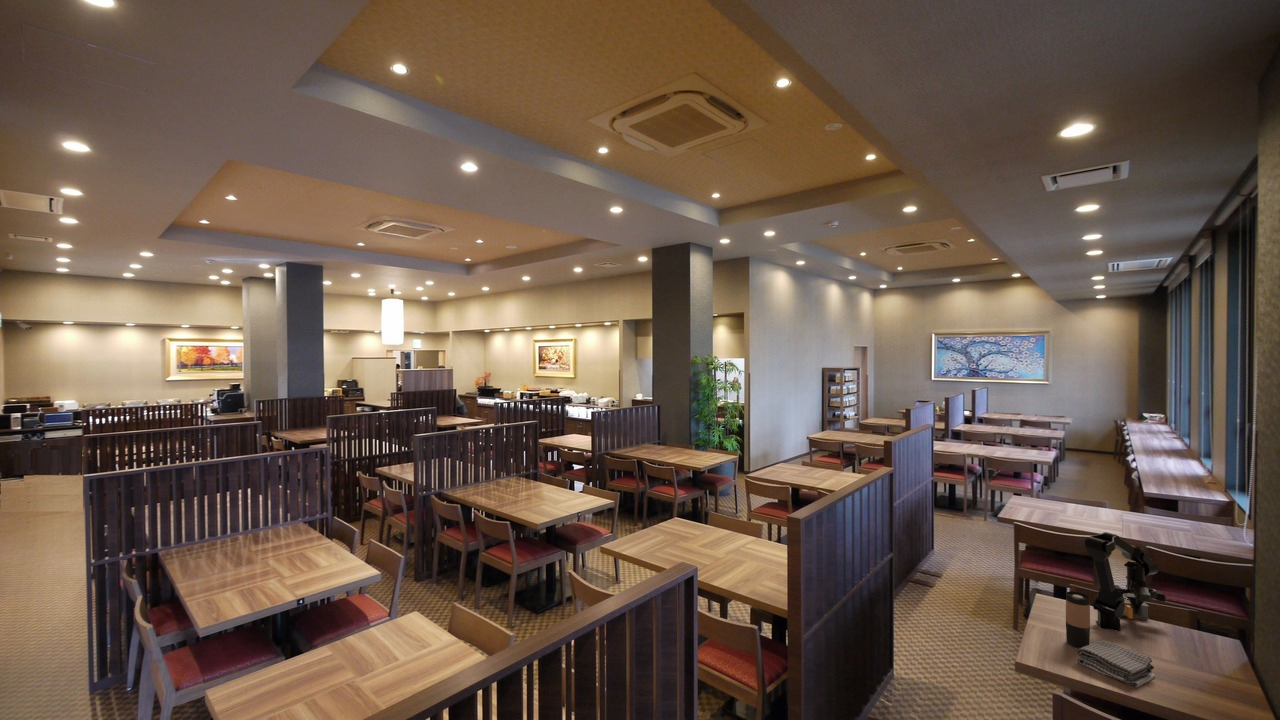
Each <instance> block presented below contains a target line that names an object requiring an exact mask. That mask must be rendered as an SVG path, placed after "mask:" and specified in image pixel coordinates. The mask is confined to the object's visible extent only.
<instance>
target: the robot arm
mask: <svg viewBox="0 0 1280 720" xmlns="http://www.w3.org/2000/svg"><path fill="white" fill-rule="evenodd" d="M1083 544H1084V548H1085V550H1086V552H1087V554H1088V555H1089V556H1090V557H1091V558H1092V560H1093V562H1094V567H1095V571H1096V575H1097V579H1098V583H1099V591H1098V592H1097V595H1096V596H1097V597H1096V598H1095V600H1094V601H1093V604H1092V608H1093V609H1094V610H1097V620H1096V621H1095V623H1096V624H1097V625H1098V626H1099V628H1100V629H1101V630H1102V629H1103V630H1108V629H1109V630H1110V629H1111V630H1110V631H1115V630H1117V631H1116V632H1121V619H1120V617H1124V616H1123V613H1124V608H1125V603H1124V601H1125V600H1124V598H1123V595H1125V596H1126V597H1127V598H1128V599H1129V601H1130V603H1131V606H1132V608H1133V610H1134V612H1135V613H1138V611H1139V609H1140V607H1141V605H1142V604H1143V603H1144V602H1145V603H1146V602H1150V601H1151V599H1155V600H1156V602H1157V601H1158V602H1163V603H1164V602H1165V603H1166V602H1167V596H1166V595H1165V593H1163V592H1162V591H1161V590H1157V589H1154V588H1150V587H1148V586H1147V583H1146V580H1145V576H1150V575H1155V574H1157V573H1158V572H1159V567H1158V565H1157V563H1155V562H1154V559H1153V558H1151V557H1150V556H1149V554H1148V552H1147V550H1144V549H1141V548H1138V547H1136V546H1133V545H1131V544H1130V543H1128V542H1127V541H1125V540H1123V539H1122V538H1121V537H1120V536H1119V535H1117V534H1115V533H1110V532H1107V531H1105V532H1102V533H1100V534H1094V535H1091V536H1088V537H1086V539H1084V541H1083ZM1116 549H1117V550H1118V551H1120V552H1121V556H1122V557H1124V558H1125V559H1126V560H1127V562H1126V563H1124V567H1126V575H1125V579H1126V585H1125V588H1122V587H1120V586H1119V585H1117V584H1115V580H1114V577H1113V574H1112V568H1111V564H1110V560H1109V558H1110V557H1111V555H1112V553H1113V551H1115V550H1116ZM1129 560H1130V561H1129ZM1134 596H1135V597H1134ZM1102 606H1105V607H1108V608H1110V609H1113V610H1114V611H1112V610H1110V609H1107V608H1105V607H1102Z"/></svg>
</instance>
